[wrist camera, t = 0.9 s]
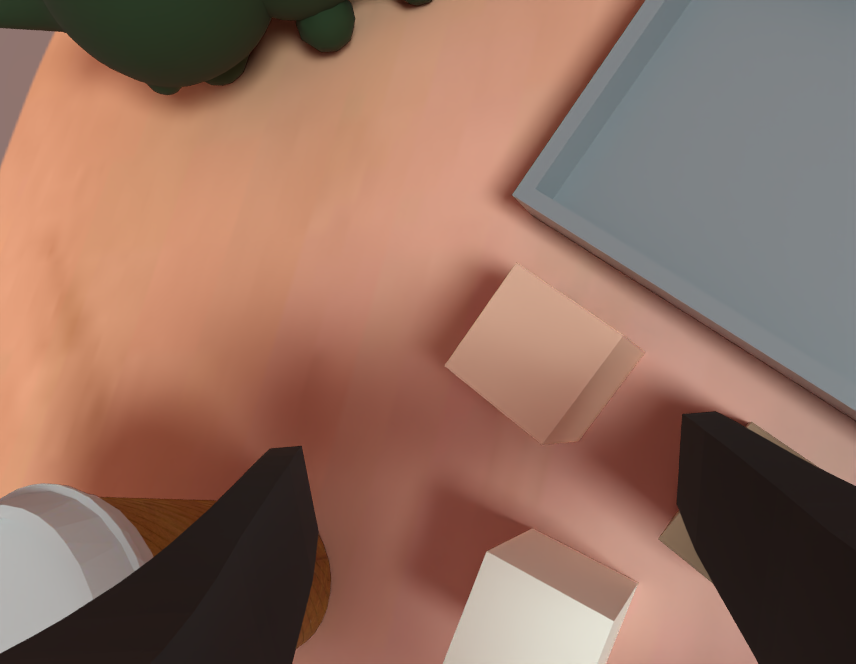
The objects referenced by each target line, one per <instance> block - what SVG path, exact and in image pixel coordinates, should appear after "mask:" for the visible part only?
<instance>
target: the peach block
mask: <svg viewBox="0 0 856 664" xmlns="http://www.w3.org/2000/svg"><path fill="white" fill-rule="evenodd" d="M644 354H645V352H644V351H643V350H642V349H641V348H639V347H638V346H637V345H635V344H634V343H633V342H632V341H630V340H629V339H628V338H627V337H625V336H624V335H623V334H621V333H620V332H618V331H617V330H615V329H614V328H612V327H611V326H609V325H608V324H606V323H605V322H603V321H602V320H601V319H599V318H598V317H596V316H595V315H593V314H592V313H590V312H589V311H587V310H586V309H584V308H583V307H581V306H580V305H578V304H577V303H575V302H574V301H573V300H571V299H570V298H568V297H567V296H565V295H564V294H562V293H561V292H559V291H558V290H556V289H555V288H553V287H552V286H550V285H549V284H548V283H546V282H545V281H543V280H542V279H540V278H539V277H537V276H536V275H534V274H533V273H531V272H530V271H528V270H527V269H525V268H524V267H523V266H521V265H520V264H518V263H517V262H516V264H515V265H514V267H513V268H512V270H511V271H510V272H509V274H508V275H507V277H506V278H505V280H504V281H503V282H502V284H501V285H500V287H499V288H498V290H497V291H496V292H495V294H494V295H493V297H492V298H491V300H490V301H489V303H488V304H487V305H486V307H485V308H484V310H483V311H482V313H481V314H480V315H479V317H478V318H477V320H476V321H475V323H474V324H473V325H472V327H471V328H470V330H469V331H468V333H467V334H466V335H465V337H464V338H463V340H462V341H461V343H460V344H459V345H458V347H457V348H456V350H455V351H454V353H453V354H452V355H451V357H450V358H449V360H448V361H447V363H446V364H445V365H444V366H445V367H446V368H447V369H449V370H450V371H451V372H452V373H454V374H455V375H456V376H457V377H459V378H460V379H461V380H462V381H463V382H465V383H466V384H467V385H468V386H470V387H471V388H472V389H473V390H475V391H476V392H477V393H478V394H479V395H481V396H482V397H483V398H484V399H486V400H487V401H488V402H489V403H491V404H492V405H493V406H494V407H496V408H497V409H498V410H499V411H500V412H502V413H503V414H504V415H505V416H507V417H508V418H509V419H510V420H512V421H513V422H514V423H515V424H516V425H518V426H519V427H520V428H521V429H523V430H524V431H525V432H526V433H528V434H529V435H530V436H531V437H532V438H534V439H535V440H536V441H537V442H539V443H540V444H541V445H549V444H559V443H569V442H579V440H580V439H581V438H582V436H583V435H584V434H585V432H586V431H587V430H588V428H589V427H590V426H591V424H592V423H593V422H594V420H595V419H596V418H597V416H598V415H599V414H600V412H601V411H602V410H603V408H604V407H605V406H606V404H607V403H608V402H609V400H610V399H611V398H612V396H613V395H614V394H615V392H616V391H617V390H618V388H619V387H620V386H621V384H622V383H623V382H624V380H625V379H626V378H627V376H628V375H629V374H630V372H631V371H632V370H633V368H634V367H635V366H636V364H637V363H638V362H639V360H640V359H641V358H642V356H643V355H644Z"/></svg>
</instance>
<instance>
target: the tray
mask: <svg viewBox="0 0 856 664" xmlns="http://www.w3.org/2000/svg"><path fill="white" fill-rule="evenodd" d="M512 196H513V197H514V198H515V199H516V200H517V201H518V202H519V203H520V204H521V205H522V206H523V207H524V208H525V209H526V210H527V211H528V212H529V213H530V214H531V215H532V216H534V217H535V218H537V219H539V220H540V221H542V222H543V223H545V224H546V225H548V226H550V227H551V228H553V229H554V230H556V231H557V232H559V233H561V234H562V235H564V236H565V237H567V238H569V239H570V240H572V241H573V242H575V243H576V244H578V245H580V246H581V247H583V248H584V249H586V250H587V251H589V252H591V253H592V254H594V255H595V256H597V257H598V258H600V259H602V260H603V261H605V262H606V263H608V264H610V265H611V266H613V267H614V268H616V269H617V270H619V271H621V272H622V273H624V274H625V275H627V276H628V277H630V278H632V279H633V280H635V281H636V282H638V283H639V284H641V285H643V286H644V287H646V288H647V289H649V290H651V291H652V292H654V293H655V294H657V295H658V296H660V297H662V298H663V299H665V300H666V301H668V302H669V303H671V304H673V305H674V306H676V307H677V308H679V309H680V310H682V311H684V312H685V313H687V314H688V315H690V316H692V317H693V318H695V319H696V320H698V321H699V322H701V323H703V324H704V325H706V326H707V327H709V328H710V329H712V330H714V331H715V332H717V333H718V334H720V335H722V336H723V337H725V338H726V339H728V340H729V341H731V342H733V343H734V344H736V345H737V346H739V347H740V348H742V349H744V350H745V351H747V352H748V353H750V354H751V355H753V356H755V357H756V358H758V359H759V360H761V361H763V362H764V363H766V364H767V365H769V366H770V367H772V368H774V369H775V370H777V371H778V372H780V373H781V374H783V375H785V376H786V377H788V378H789V379H791V380H792V381H794V382H796V383H797V384H799V385H800V386H802V387H804V388H805V389H807V390H808V391H810V392H811V393H813V394H815V395H816V396H818V397H819V398H821V399H822V400H824V401H826V402H827V403H829V404H830V405H832V406H833V407H835V408H837V409H838V410H840V411H841V412H843V413H845V414H846V415H848V416H849V417H851V418H852V419H854V420H856V0H645V2H644V3H643V5H642V6H641V8H640V9H639V11H638V12H637V13H636V15H635V16H634V18H633V19H632V21H631V22H630V24H629V25H628V27H627V28H626V29H625V31H624V32H623V34H622V35H621V37H620V38H619V40H618V41H617V43H616V44H615V46H614V47H613V48H612V50H611V51H610V53H609V54H608V56H607V57H606V59H605V60H604V62H603V63H602V64H601V66H600V67H599V69H598V70H597V72H596V73H595V75H594V76H593V78H592V79H591V81H590V82H589V83H588V85H587V86H586V88H585V89H584V91H583V92H582V94H581V95H580V97H579V98H578V99H577V101H576V102H575V104H574V105H573V107H572V108H571V110H570V111H569V113H568V114H567V116H566V117H565V118H564V120H563V121H562V123H561V124H560V126H559V127H558V129H557V130H556V132H555V133H554V134H553V136H552V137H551V139H550V140H549V142H548V143H547V145H546V146H545V148H544V149H543V151H542V152H541V153H540V155H539V156H538V158H537V159H536V161H535V162H534V164H533V165H532V167H531V168H530V169H529V171H528V172H527V174H526V175H525V177H524V178H523V180H522V181H521V183H520V184H519V185H518V187H517V188H516V190H515V191H514V193H513V194H512Z"/></svg>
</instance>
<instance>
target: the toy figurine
mask: <svg viewBox="0 0 856 664" xmlns="http://www.w3.org/2000/svg"><path fill="white" fill-rule="evenodd" d="M405 1H406V2H408V3H409V4H413V5H421V4H425V3H429V2H431V1H432V0H405ZM272 17H273V18H277V19H280V20H296V26H297V28H298V31H299V34H300V36H301V39H302V40H303V41H305V42H306V43H308V44H309V45H311V46H313V47H314V48H316V49H317V50H319V51H320V52H331V51H338V50H339V49H341V48H342V47H343V46H344V45H345V44H347V43H348V42H349V41H350V40H351V37H352V33H353V28H354V22H355V16H354V12H353V8H352V4H351V3H350V2H349V1H348V0H0V28H11V29H27V30H44V31H58V32H65V33H67V34H68V35H69V36H70V37H71V38H72V39H73V40H74V41H75V42H76V43H77V44H78V45H79V46H80V47H82V48H83V49H84V50H85V51H86V52H87V53H89V54H90V55H91V56H93V57H94V58H95V59H97V60H98V61H99V62H101V63H103V64H104V65H106V66H108V67H109V68H111V69H113V70H115V71H118V72H120V73H122V74H124V75H126V76H128V77H131V78H133V79H136V80H138V81H141V82H144V83H146V84H147V85H148V86H149V87H150V88H151V89H152V90H153V91H155V92H157V93H159V94H163V95H171V94H174V93H176V92H178V91H179V89H180V88H181V87H184V86H191V85H195V84H198V83H201V82H206V83H209V84H211V85H226V84H229V83H232V82H233V81H234V80H235V79H237V78H238V77H239V76H240V75H241V74H242V73H243V72H244V69H245V66H246V63H247V60H248V57H249V54H250V52H251V51H252V50H253V49H254V48H255V47H256V45H257V44H258V43H259V41H260V39H261V38H262V36H263V35H264V33H265V31H266V29H267V27H268V25H269V23H270V21H271V19H272Z"/></svg>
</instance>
